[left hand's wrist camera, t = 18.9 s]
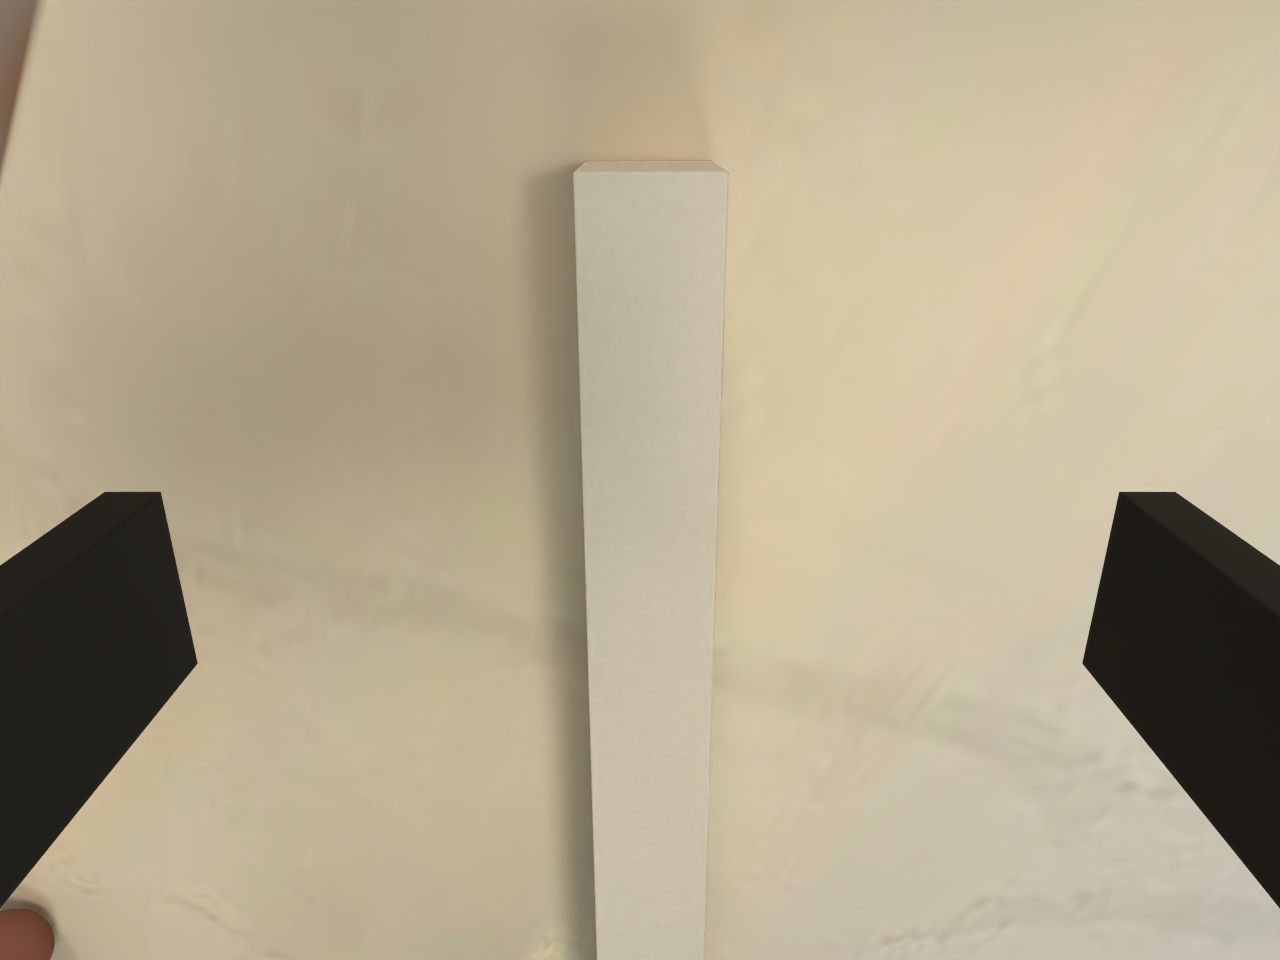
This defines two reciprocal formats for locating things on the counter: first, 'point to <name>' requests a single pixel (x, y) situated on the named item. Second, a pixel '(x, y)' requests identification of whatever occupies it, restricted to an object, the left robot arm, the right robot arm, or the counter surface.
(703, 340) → the bar
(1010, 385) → the counter surface
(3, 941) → the figurine character
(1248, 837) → the left robot arm
